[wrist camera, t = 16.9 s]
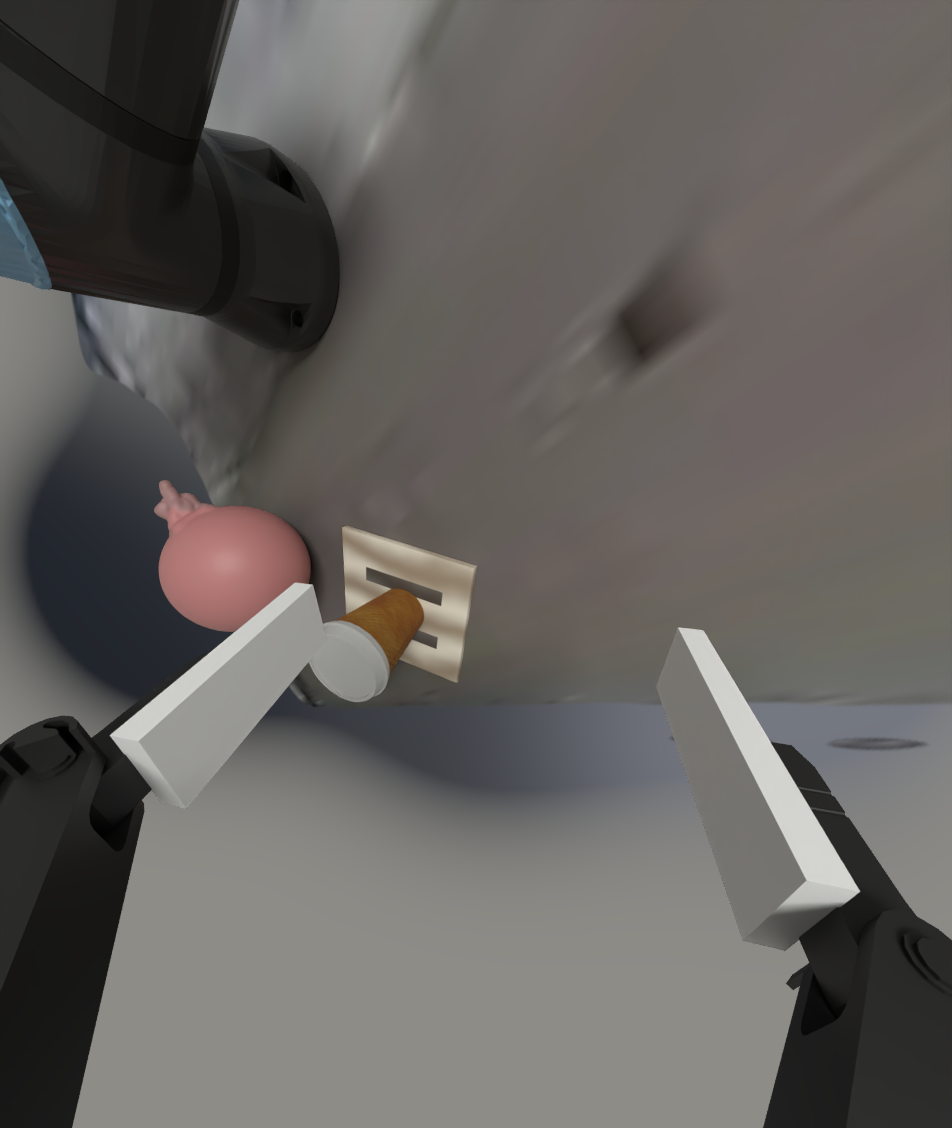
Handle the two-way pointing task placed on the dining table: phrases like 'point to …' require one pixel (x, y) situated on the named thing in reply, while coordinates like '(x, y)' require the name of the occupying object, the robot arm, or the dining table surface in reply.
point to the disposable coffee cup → (367, 645)
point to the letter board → (428, 579)
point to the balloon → (226, 559)
